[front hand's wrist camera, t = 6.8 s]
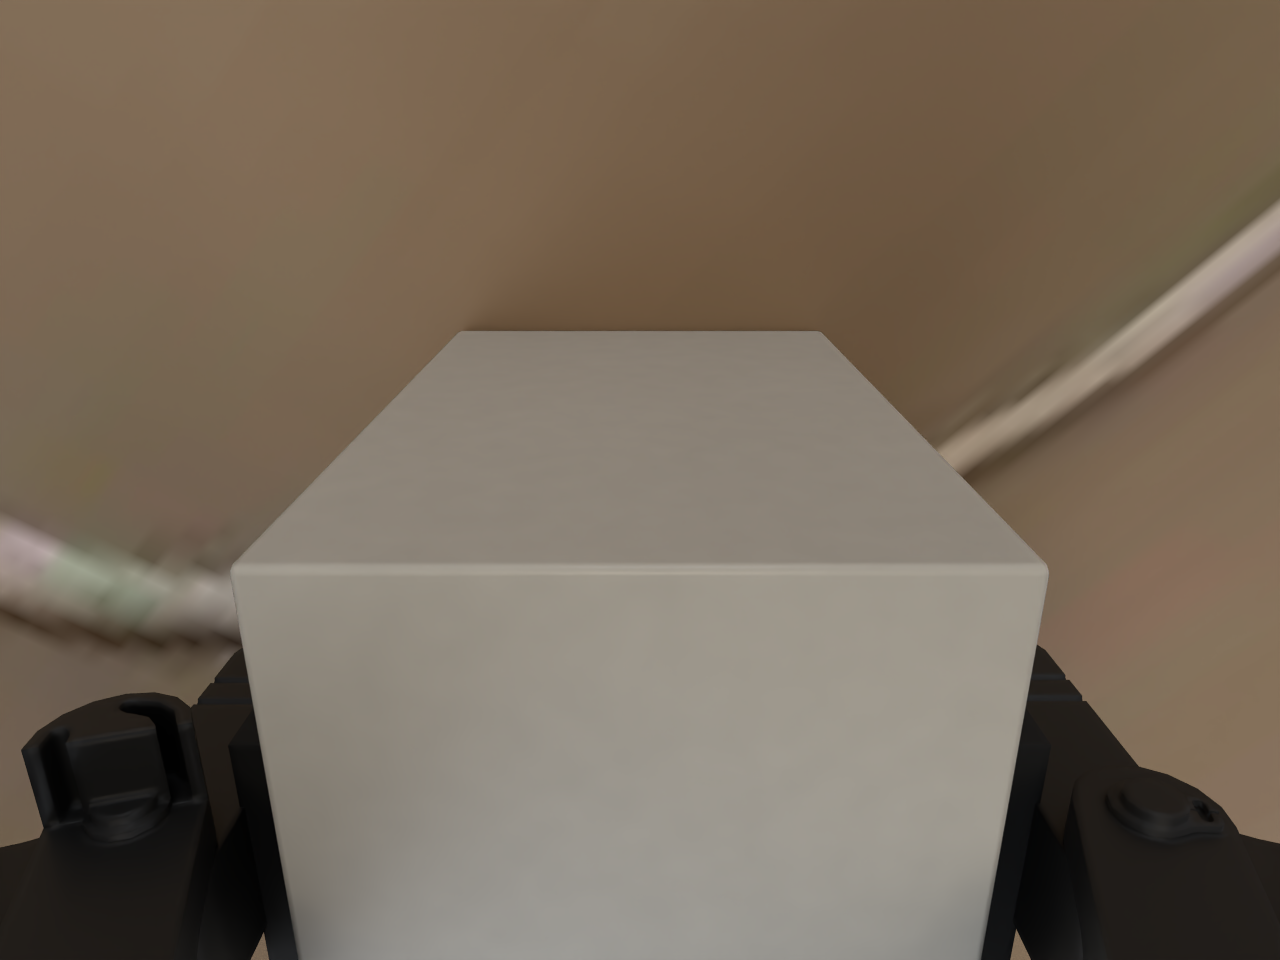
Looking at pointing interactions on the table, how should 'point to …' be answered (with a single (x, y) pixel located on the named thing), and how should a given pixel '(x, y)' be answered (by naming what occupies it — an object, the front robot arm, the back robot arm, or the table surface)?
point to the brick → (639, 663)
